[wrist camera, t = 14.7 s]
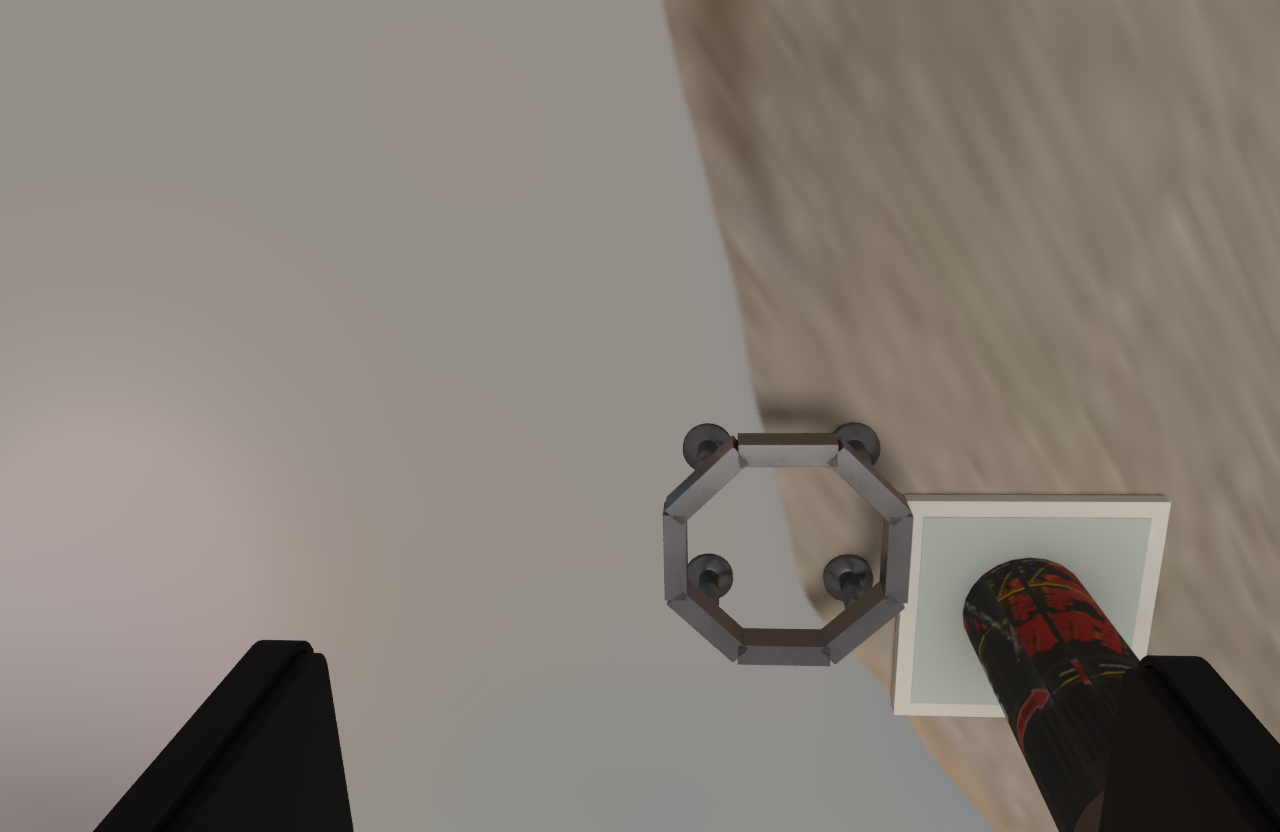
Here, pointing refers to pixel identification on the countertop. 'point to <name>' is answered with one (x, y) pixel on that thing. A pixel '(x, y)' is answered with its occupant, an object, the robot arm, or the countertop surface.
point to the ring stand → (844, 576)
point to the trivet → (997, 533)
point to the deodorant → (1052, 678)
